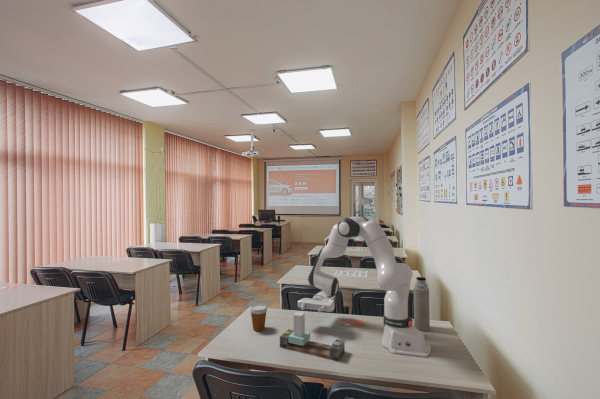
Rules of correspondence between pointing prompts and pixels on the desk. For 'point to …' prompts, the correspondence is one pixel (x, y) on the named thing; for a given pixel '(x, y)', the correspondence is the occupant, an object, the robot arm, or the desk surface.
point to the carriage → (299, 330)
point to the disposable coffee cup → (258, 317)
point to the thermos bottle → (421, 305)
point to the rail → (315, 347)
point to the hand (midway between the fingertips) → (310, 309)
